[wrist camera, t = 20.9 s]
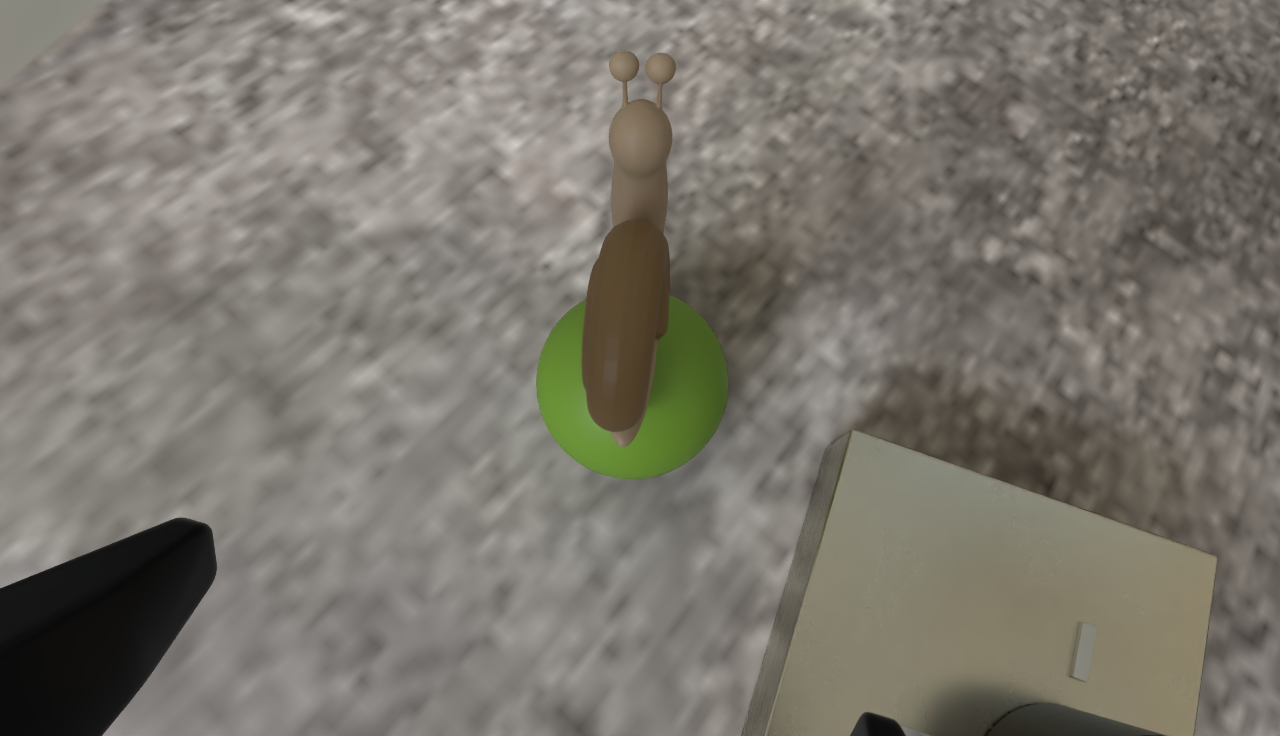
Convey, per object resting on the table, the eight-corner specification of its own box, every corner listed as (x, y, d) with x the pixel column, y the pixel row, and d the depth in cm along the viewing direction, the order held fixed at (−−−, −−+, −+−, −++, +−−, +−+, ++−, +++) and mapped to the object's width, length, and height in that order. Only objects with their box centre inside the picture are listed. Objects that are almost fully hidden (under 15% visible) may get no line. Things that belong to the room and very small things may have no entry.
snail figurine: (722, 303, 24) (796, 52, 13) (713, 496, 23) (791, 405, 11) (561, 292, 24) (491, 33, 13) (539, 483, 23) (436, 380, 11)
